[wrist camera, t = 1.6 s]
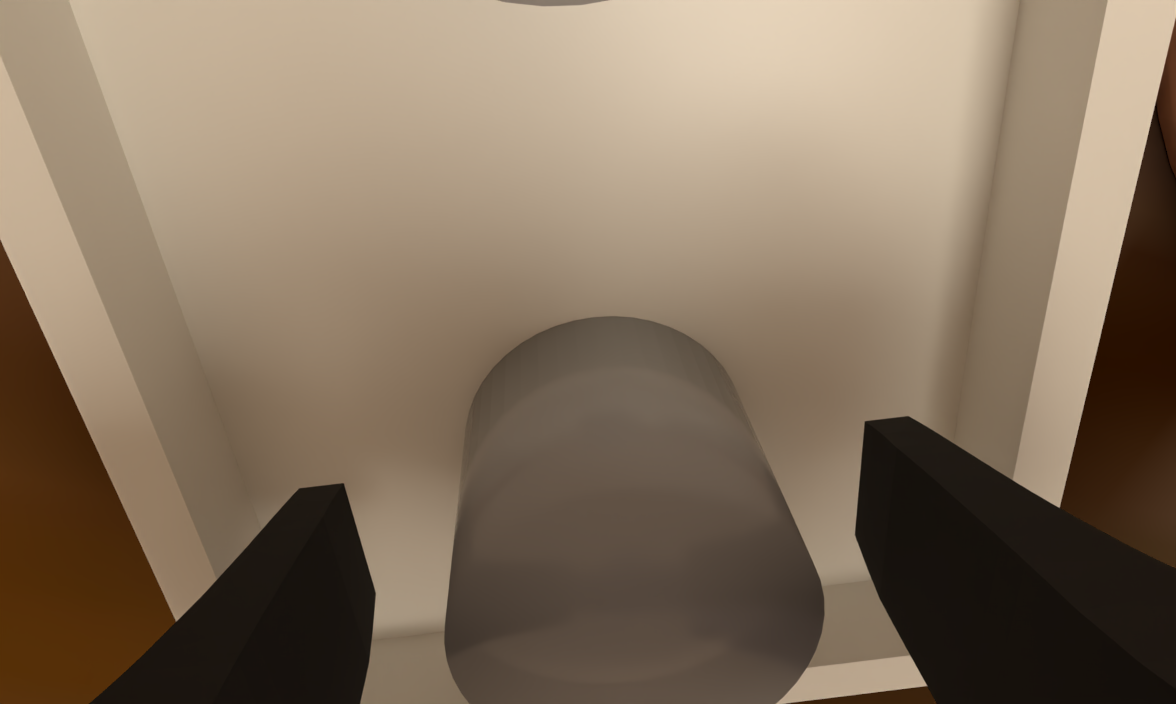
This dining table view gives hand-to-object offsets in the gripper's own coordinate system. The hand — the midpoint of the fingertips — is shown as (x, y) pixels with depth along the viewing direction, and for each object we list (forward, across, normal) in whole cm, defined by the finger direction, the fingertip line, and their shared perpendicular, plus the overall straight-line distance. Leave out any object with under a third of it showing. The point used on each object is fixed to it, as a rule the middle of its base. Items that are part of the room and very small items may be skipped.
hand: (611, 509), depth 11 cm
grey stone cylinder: (+2, 0, 0) cm, 2 cm away
